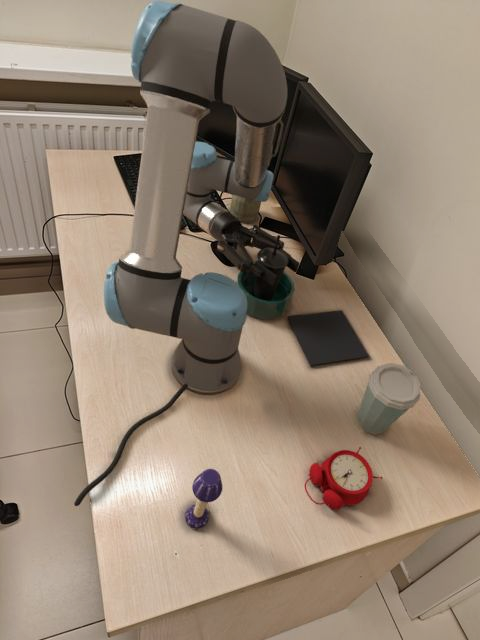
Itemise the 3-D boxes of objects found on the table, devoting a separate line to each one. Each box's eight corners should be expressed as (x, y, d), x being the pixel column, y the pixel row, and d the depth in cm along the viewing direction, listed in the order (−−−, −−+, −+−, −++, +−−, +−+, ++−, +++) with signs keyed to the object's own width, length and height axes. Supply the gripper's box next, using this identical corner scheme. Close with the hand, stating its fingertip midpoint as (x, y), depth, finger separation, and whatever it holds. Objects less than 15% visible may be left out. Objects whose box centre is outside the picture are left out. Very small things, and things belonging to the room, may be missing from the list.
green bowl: (286, 326, 116) (292, 309, 111) (228, 312, 115) (232, 294, 111) (291, 288, 126) (297, 271, 121) (238, 275, 125) (242, 258, 120)
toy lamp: (211, 504, 83) (224, 461, 71) (213, 530, 80) (227, 491, 68) (184, 505, 82) (192, 463, 69) (185, 532, 79) (194, 492, 66)
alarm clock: (390, 482, 89) (337, 507, 80) (373, 497, 93) (320, 524, 84) (358, 438, 94) (305, 457, 85) (343, 454, 98) (290, 475, 89)
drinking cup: (276, 311, 118) (295, 249, 103) (246, 306, 117) (262, 242, 102) (276, 291, 123) (295, 229, 108) (248, 286, 122) (263, 223, 107)
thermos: (221, 206, 144) (239, 87, 118) (257, 206, 148) (282, 91, 122) (228, 223, 139) (248, 103, 113) (265, 223, 143) (293, 107, 117)
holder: (367, 358, 114) (369, 356, 114) (310, 367, 109) (311, 365, 108) (341, 312, 123) (342, 310, 123) (286, 318, 118) (287, 316, 117)
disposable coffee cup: (368, 450, 97) (398, 411, 86) (337, 410, 102) (361, 369, 91) (402, 430, 102) (434, 391, 91) (371, 394, 107) (398, 353, 96)
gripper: (245, 224, 126) (308, 270, 118) (188, 249, 114) (254, 303, 106) (250, 200, 120) (316, 247, 113) (191, 224, 108) (260, 278, 101)
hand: (286, 274), depth 110 cm, fingers closed on drinking cup, 8 cm apart
